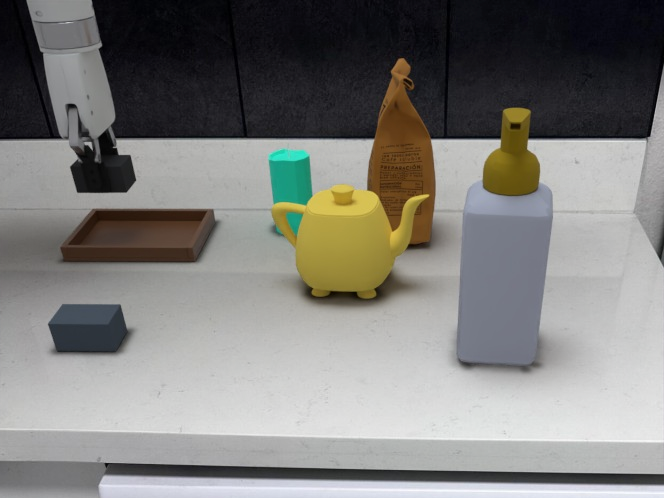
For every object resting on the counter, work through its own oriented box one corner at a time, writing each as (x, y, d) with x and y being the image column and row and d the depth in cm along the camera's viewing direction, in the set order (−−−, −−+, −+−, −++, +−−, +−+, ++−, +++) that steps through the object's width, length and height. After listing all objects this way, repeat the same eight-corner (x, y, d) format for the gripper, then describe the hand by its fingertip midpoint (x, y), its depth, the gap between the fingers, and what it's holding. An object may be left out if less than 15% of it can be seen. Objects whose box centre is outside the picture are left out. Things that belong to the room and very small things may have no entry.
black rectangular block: (76, 193, 109) (69, 166, 107) (88, 180, 113) (81, 154, 111) (126, 192, 109) (120, 166, 107) (136, 180, 113) (130, 154, 110)
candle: (310, 237, 117) (303, 150, 109) (271, 234, 117) (261, 148, 109) (319, 221, 121) (313, 137, 113) (281, 219, 122) (273, 136, 114)
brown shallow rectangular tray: (63, 261, 111) (59, 247, 110) (96, 221, 122) (92, 208, 120) (195, 261, 110) (192, 247, 109) (215, 222, 121) (213, 209, 120)
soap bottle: (454, 365, 89) (466, 123, 72) (461, 327, 96) (472, 97, 79) (534, 370, 88) (564, 126, 71) (535, 331, 95) (563, 100, 78)
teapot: (423, 309, 99) (425, 209, 91) (268, 303, 101) (255, 204, 92) (431, 265, 109) (433, 171, 101) (289, 259, 111) (280, 166, 102)
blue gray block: (56, 351, 92) (47, 323, 90) (70, 330, 96) (62, 303, 93) (115, 351, 92) (108, 324, 90) (127, 331, 96) (120, 304, 93)
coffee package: (433, 218, 122) (437, 55, 107) (434, 250, 113) (439, 77, 98) (369, 217, 122) (364, 55, 107) (365, 250, 113) (359, 77, 98)
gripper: (61, 21, 105) (98, 165, 117) (12, 50, 92) (59, 207, 105) (117, 21, 105) (148, 165, 117) (75, 49, 92) (115, 207, 104)
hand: (106, 183), depth 111 cm, fingers closed on black rectangular block, 5 cm apart
